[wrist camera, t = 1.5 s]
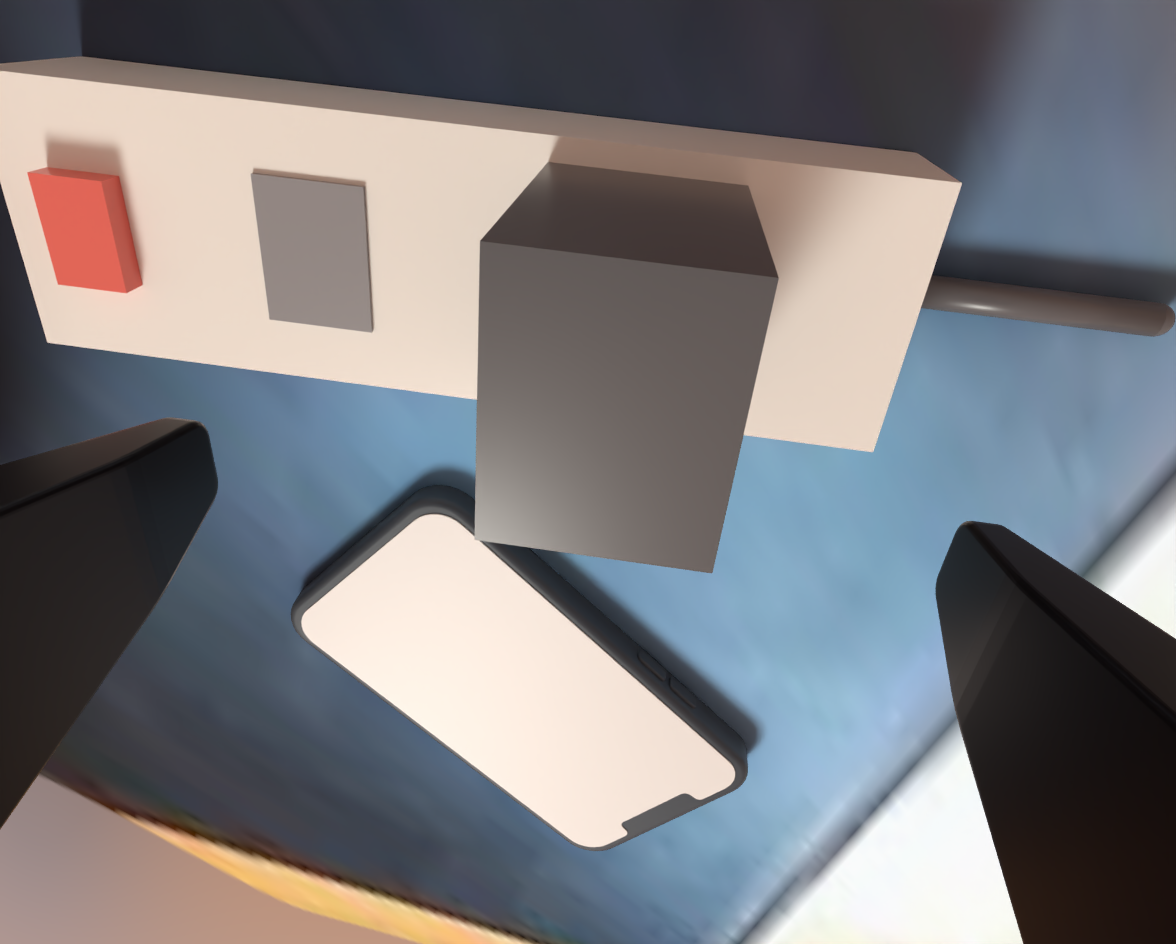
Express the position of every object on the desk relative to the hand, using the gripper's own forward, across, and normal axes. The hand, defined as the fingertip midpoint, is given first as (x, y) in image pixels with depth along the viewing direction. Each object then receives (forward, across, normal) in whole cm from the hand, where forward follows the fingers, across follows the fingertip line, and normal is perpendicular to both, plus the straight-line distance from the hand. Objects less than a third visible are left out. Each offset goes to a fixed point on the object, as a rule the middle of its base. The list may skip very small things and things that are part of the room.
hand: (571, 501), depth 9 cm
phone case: (+13, +2, +16) cm, 21 cm away
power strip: (+12, 0, 0) cm, 12 cm away
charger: (+10, 0, 0) cm, 10 cm away
